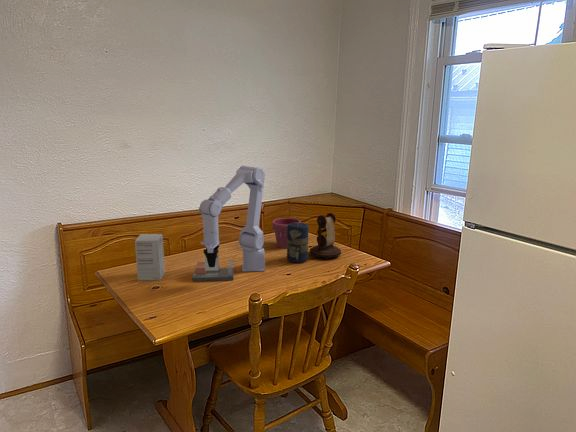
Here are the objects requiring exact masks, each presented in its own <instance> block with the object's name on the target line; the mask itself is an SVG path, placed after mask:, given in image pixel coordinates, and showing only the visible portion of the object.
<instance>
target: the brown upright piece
mask: <svg viewBox="0 0 576 432" xmlns="http://www.w3.org/2000/svg"><path fill="white" fill-rule="evenodd" d="M336 219H337V218H336V216H335V214H334V213H332V212H329V213H327V214H326V215H325V216H324V215H318V217H317V218H316V224H317V225H318V227H317V229H318V230H317V231H316V233H317V237H316V243H317V244H316V245H313V246H312V247H311V248H310V249H309V254H310V256H314V257H318V258H325V259H326V261H328V260H329V258H335V257H338V256H341V255H342V250H341V248H339V247H338V246H335V241H336V235H335V228H336V227H335V223H336V221H337V220H336ZM322 233H326V234H325V236H324V235H323V234H322Z"/></svg>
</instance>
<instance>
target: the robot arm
mask: <svg viewBox="0 0 576 432" xmlns="http://www.w3.org/2000/svg"><path fill="white" fill-rule="evenodd" d="M265 178H266V173H265V171H264V169H263V168H261V167H255V166H249V165H248V166H246V165H240V167H239V168H238V169H236V174H235V175H234V176H233V177H232V178H231V179H230V181H229V182H228V183H227V184H226V185H225V186H224V187H223V186H221V187H218V188H217V189H216V191H215V192H213V194H212V195H210V196H209V198H207V199H204V200H202V201H201V202H200V204H199V207H198V211H199V213H200V214H201V218H202V230H203V231H202V232H203V233H202V234H203V241H200V245H203V246H204V247H205V249H203V254H204V257H205V256H206V258H207V261H208V265H209V267H215V262H216V256H217V254H218V253H219V248H220V244H221V243H220V238H219V237H220V235H219V234H220V232H219V231H220V229H219V215H220V214H221V213H222V208H223V206H225V204H226V203H227V202H229V200H230V199H231V198H232V194H233V193H234V192H235V191H236V190H237V189H238V188H239V187H240V186H242V185H243V184H245V185H246V186H247V187H248V188H249V198H248V206H247V207H248V208H247V215H246V224H245V226H244V227H242V228H241V230H240V234H239V236H238V244H239V246H241V249H242V265H241V271H242V272H263V271H265V266H266V260H265V248H264V247H263V246H264V242H265V239H264V231H263V230H262V229H261V228H260V219H261V211H262V204H263V195H264V185H265Z"/></svg>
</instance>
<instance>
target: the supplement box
mask: <svg viewBox="0 0 576 432" xmlns="http://www.w3.org/2000/svg"><path fill="white" fill-rule="evenodd" d="M134 248H135V259H136V262H135V263H136V272H137V273H136V274H137V280H138V279H139V280H138V281H161V280H162V278H163V276H164V274H165V273H166V272H165V255H164V254H165V253H164V238H163V234H162V233H150V234H149V233H141V234H139V235H138V236H137V238H136V239H135V241H134Z"/></svg>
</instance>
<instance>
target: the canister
mask: <svg viewBox="0 0 576 432" xmlns="http://www.w3.org/2000/svg"><path fill="white" fill-rule="evenodd" d="M308 253H309V225H308V224H307V223H304V222H301V223H300V222H295V223H290V224H289V225H288V227H287V248H286V258H287V260H288V261H289V262H293V263H304V262H306V261H307V260H308V258H309V254H308Z"/></svg>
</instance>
